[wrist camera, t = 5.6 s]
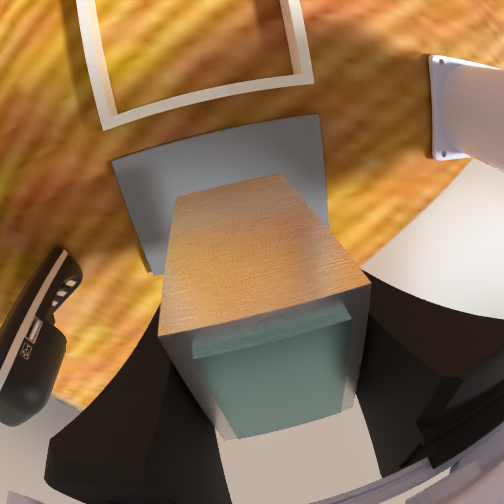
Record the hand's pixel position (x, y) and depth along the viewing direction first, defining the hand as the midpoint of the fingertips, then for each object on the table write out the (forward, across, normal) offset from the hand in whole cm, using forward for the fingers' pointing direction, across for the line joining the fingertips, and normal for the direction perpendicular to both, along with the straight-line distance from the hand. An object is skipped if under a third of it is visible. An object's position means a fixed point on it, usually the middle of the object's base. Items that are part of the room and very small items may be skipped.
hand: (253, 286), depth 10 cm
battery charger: (+9, +14, +3) cm, 17 cm away
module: (+3, 0, 0) cm, 3 cm away
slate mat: (+9, 0, 0) cm, 9 cm away
